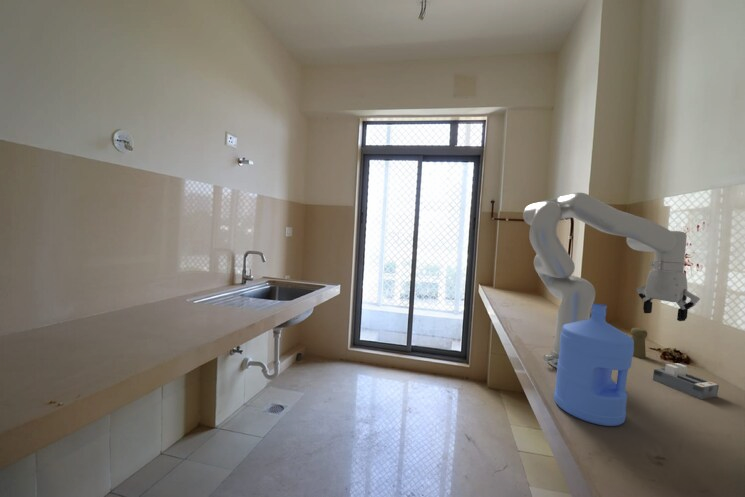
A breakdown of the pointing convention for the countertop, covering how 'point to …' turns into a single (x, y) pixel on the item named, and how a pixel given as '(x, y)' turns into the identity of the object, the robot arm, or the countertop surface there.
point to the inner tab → (671, 370)
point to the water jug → (593, 369)
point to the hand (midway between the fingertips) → (663, 316)
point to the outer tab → (681, 369)
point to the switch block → (687, 384)
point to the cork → (639, 342)
